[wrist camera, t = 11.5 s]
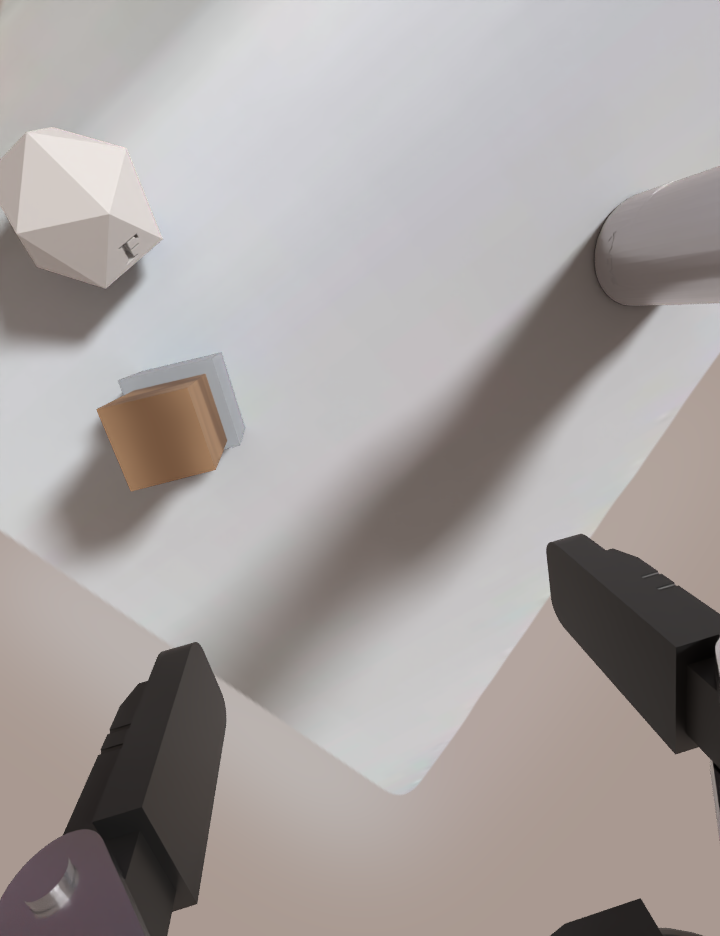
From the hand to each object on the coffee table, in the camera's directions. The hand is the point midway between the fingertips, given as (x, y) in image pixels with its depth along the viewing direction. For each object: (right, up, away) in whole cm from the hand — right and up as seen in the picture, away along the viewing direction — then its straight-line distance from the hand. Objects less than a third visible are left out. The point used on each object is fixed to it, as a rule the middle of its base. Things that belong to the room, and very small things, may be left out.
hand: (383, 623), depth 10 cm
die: (-19, +21, +23) cm, 37 cm away
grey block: (-14, +9, +28) cm, 33 cm away
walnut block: (-13, +7, +23) cm, 27 cm away
